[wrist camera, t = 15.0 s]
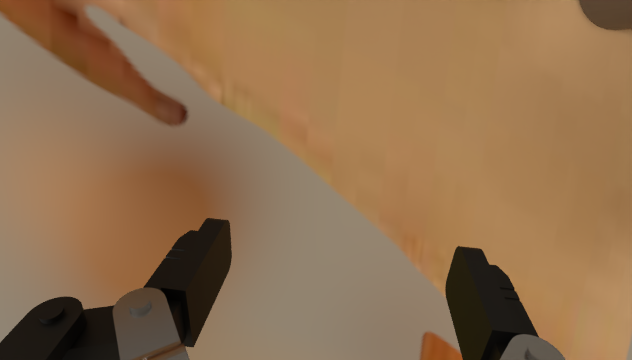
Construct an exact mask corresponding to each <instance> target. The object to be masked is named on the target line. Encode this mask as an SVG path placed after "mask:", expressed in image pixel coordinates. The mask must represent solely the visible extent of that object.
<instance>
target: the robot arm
mask: <svg viewBox="0 0 632 360" xmlns="http://www.w3.org/2000/svg"><path fill="white" fill-rule="evenodd" d="M579 2H580V5H581V7H582V9H583V12H584V13H585V15H586V16H587V17H588V18H589V20H590V21H592V22H593V23H594V24H596V25H597V26H599V27H602V28H605V29H611V30H621V29H632V0H579ZM231 258H232V252H231V236H230V223H229V221H228V220H221V219H212V218H207V219H206V220H205V222H204V223H203V224H202V226H201V227H200V229H199V231H193V230H191V231H189V232H187V233H186V234H184V235H183V236H182V237H180V238H179V239H178V240H177V242H176V243H175V244H174V246H173V247H172V250H170V251H169V253H168V254H167V255H166V258H165V259H164V260H163V261H162V262H161V264H160V265H159V267H158V268H157V269H156V271H155V272H154V274H153V275H152V276H151V278H150V279H149V280H148V282H147V283H146V285H145V286H144V287H143V288H140V289H136V290H133V291H131V292H129V293H127V294H125V295H124V296H123V297H121V298H120V299H119V300H118V301H117V302H116V304H115V305H114V306H108V307H100V308H93V309H86V310H83V307H82V304H81V302H80V301H79V300H78V299H76V298H73V297H58V298H54V299H51V300H48V301H45V302H43V303H41V304H39V305H38V306H36V307H35V308H33V309H32V310H31V311H30V312H29V313H28V314H27V315H26V316H25V317H24V318H23V319H22V320H21V321H20V322H19V323H18V324H17V325H16V326H15V327H14V328H13V330H12V331H11V332H10V333H9V334H8V335H7V336H6V337H5V338H4V339H3V340H2V341H1V343H0V360H189V357H188V354H187V351H186V348H185V346H187V347H194V345H195V343H196V341H197V339H198V336H199V334H200V332H201V330H202V328H203V326H204V323H205V321H206V319H207V317H208V315H209V313H210V310H211V308H212V306H213V304H214V302H215V300H216V297H217V295H218V293H219V291H220V289H221V286H222V285H223V282H224V280H225V278H226V276H227V274H228V272H229V268H230V265H231ZM446 299H447V303H448V306H449V310H450V313H451V317H452V321H453V325H454V328H455V332H456V336H457V339H458V343H459V347H460V350H461V354H462V358H463V360H565V358H564V357H563V355H562V354H561V353H560V352H559V351H558V350H557V349H556V348H555V347H554V346H553V345H551V344H550V343H548V342H547V341H545V340H543V339H541V338H539V336H538V334H537V332H536V330H535V328H534V326H533V324H532V322H531V320H530V319H529V317H528V315H527V313H526V311H525V309H524V307H523V305H522V303H521V302H520V301H519V297H518V295H517V293H516V291H514V287H513V285H512V283H511V281H510V279H509V277H508V276H507V275H506V274H505V273H504V272H503V271H502V270H501V269H500V268H499V267H498V266H497V265H489V263H488V261H487V259H486V257H485V255H484V253H483V251H482V249H478V248H469V247H460V246H458V247H457V248H456V250H455V253H454V256H453V260H452V263H451V267H450V270H449V273H448V277H447V281H446Z"/></svg>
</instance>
